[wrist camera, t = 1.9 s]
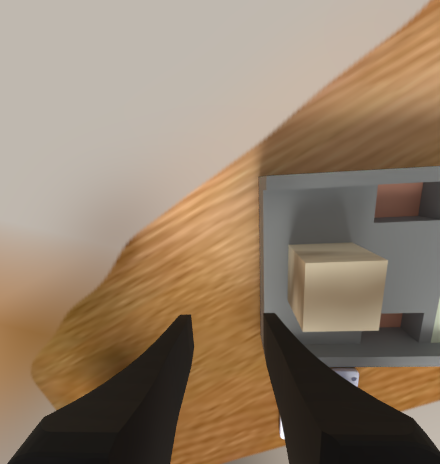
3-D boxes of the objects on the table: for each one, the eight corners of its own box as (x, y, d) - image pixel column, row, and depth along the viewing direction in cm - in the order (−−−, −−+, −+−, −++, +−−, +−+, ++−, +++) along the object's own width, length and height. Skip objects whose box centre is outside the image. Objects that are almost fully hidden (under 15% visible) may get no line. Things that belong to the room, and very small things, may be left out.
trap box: (540, 330, 21) (622, 370, 17) (260, 335, 22) (268, 372, 18) (598, 157, 17) (723, 149, 13) (258, 176, 19) (267, 175, 14)
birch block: (347, 298, 18) (378, 330, 14) (287, 300, 19) (302, 331, 15) (352, 242, 17) (387, 260, 13) (288, 244, 17) (305, 263, 14)
